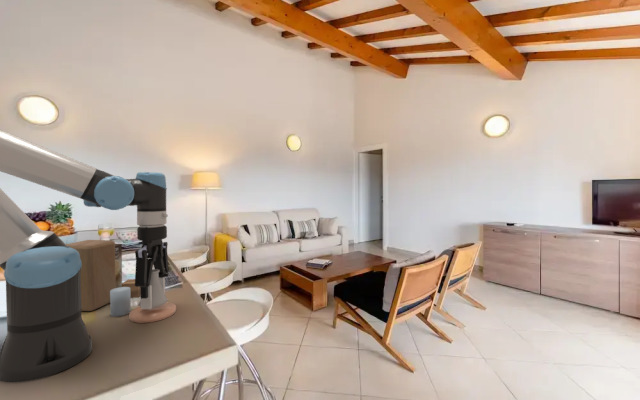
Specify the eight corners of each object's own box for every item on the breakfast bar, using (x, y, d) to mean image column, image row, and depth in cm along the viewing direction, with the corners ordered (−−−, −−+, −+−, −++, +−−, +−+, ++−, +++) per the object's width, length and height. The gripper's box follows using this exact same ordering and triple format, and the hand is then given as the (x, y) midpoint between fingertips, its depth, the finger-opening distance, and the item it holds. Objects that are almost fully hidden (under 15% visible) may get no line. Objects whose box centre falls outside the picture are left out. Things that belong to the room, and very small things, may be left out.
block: (117, 300, 99) (116, 239, 98) (91, 312, 89) (90, 245, 88) (89, 299, 100) (88, 239, 99) (60, 311, 90) (59, 244, 89)
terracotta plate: (164, 322, 83) (164, 318, 83) (119, 323, 82) (119, 318, 82) (182, 305, 95) (182, 302, 95) (143, 306, 94) (143, 302, 94)
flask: (133, 307, 86) (132, 272, 86) (154, 298, 93) (153, 266, 93) (152, 310, 84) (152, 274, 84) (172, 301, 91) (172, 268, 90)
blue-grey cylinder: (124, 316, 87) (123, 292, 86) (106, 316, 87) (106, 292, 86) (134, 309, 92) (133, 286, 91) (117, 309, 92) (117, 286, 91)
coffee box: (107, 293, 105) (106, 248, 104) (88, 294, 105) (87, 248, 104) (122, 285, 114) (122, 243, 114) (105, 285, 114) (104, 243, 113)
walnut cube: (138, 297, 102) (138, 283, 102) (121, 298, 101) (121, 283, 101) (143, 292, 107) (143, 278, 107) (128, 293, 106) (127, 279, 106)
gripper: (147, 230, 78) (148, 317, 79) (180, 221, 98) (180, 291, 98) (117, 230, 78) (119, 318, 78) (156, 221, 97) (157, 292, 98)
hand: (153, 303), depth 88 cm, fingers closed on flask, 7 cm apart
